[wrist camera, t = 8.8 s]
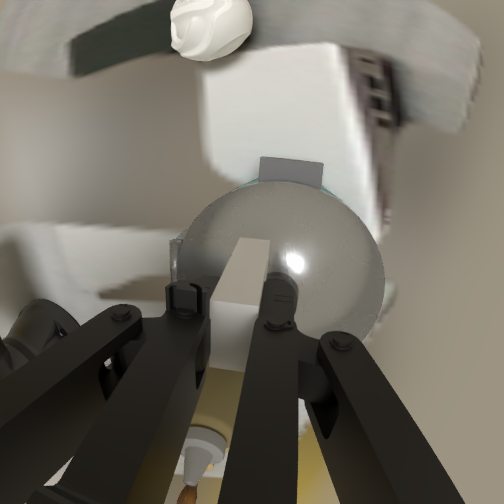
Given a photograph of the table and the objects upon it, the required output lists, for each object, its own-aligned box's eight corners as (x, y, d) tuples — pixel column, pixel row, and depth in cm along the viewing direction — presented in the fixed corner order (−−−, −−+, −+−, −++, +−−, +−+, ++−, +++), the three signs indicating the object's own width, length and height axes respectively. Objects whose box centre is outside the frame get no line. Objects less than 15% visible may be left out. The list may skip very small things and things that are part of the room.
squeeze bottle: (191, 333, 37) (132, 451, 20) (257, 335, 35) (229, 467, 19) (202, 381, 39) (160, 492, 22) (261, 384, 38) (241, 505, 21)
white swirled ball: (181, 9, 24) (151, -21, 17) (254, -3, 23) (242, -40, 16) (183, 74, 27) (151, 57, 19) (260, 64, 26) (249, 40, 18)
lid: (355, 377, 24) (357, 400, 21) (176, 346, 26) (163, 365, 24) (401, 198, 18) (414, 206, 16) (173, 171, 21) (154, 175, 18)
